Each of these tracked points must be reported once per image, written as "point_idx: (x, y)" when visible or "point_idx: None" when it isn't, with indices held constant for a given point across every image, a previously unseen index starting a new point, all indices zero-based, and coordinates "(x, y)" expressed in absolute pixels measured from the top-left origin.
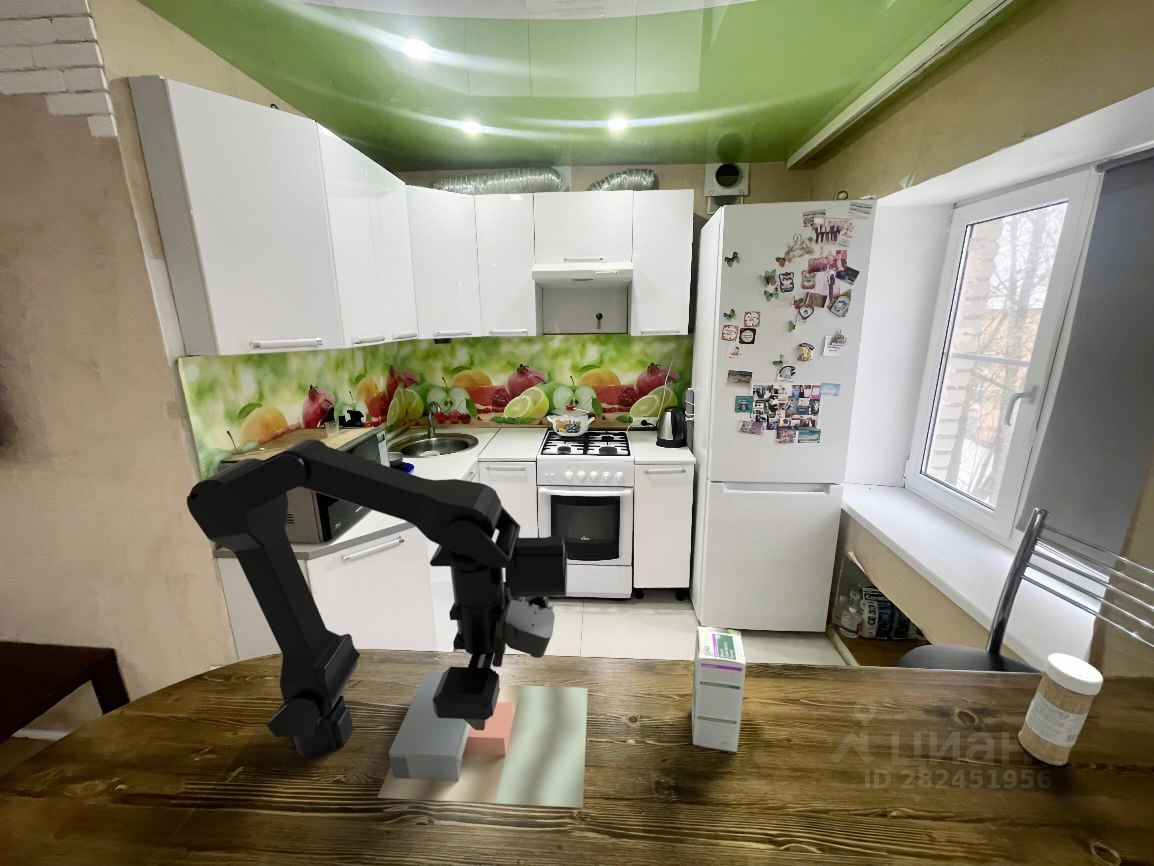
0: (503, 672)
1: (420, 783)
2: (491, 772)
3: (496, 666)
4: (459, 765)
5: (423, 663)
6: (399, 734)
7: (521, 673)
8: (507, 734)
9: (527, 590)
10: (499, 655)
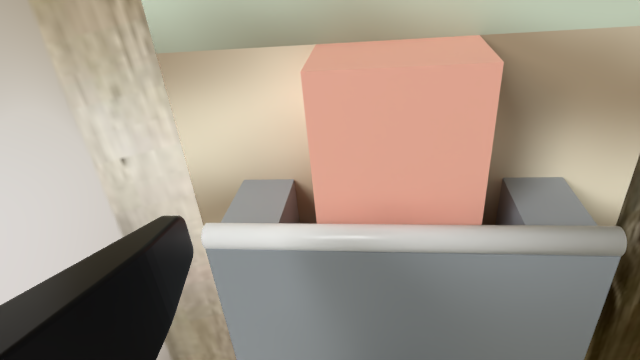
0: (116, 131)
1: None
2: (547, 74)
3: (188, 239)
4: (553, 201)
5: (172, 344)
6: None
7: (94, 62)
8: (429, 50)
9: None
10: (134, 285)
